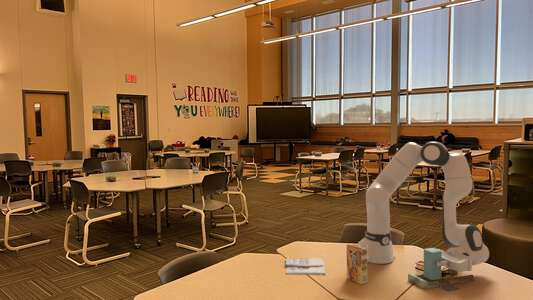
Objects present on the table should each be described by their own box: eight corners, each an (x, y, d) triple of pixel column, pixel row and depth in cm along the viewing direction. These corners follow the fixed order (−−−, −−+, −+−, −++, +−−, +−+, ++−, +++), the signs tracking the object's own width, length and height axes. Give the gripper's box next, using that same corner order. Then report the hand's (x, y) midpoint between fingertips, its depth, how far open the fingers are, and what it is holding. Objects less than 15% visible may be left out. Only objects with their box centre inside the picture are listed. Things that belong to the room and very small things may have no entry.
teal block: (423, 276, 178) (423, 249, 177) (432, 274, 180) (433, 247, 179) (431, 280, 173) (432, 252, 172) (441, 278, 175) (441, 250, 174)
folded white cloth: (323, 261, 206) (323, 257, 206) (325, 276, 186) (325, 272, 186) (285, 261, 208) (285, 256, 208) (283, 275, 188) (283, 271, 188)
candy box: (368, 282, 176) (367, 247, 175) (361, 285, 174) (360, 249, 173) (353, 276, 184) (352, 243, 183) (346, 278, 181) (346, 244, 180)
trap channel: (400, 276, 183) (400, 269, 183) (447, 268, 192) (447, 262, 192) (433, 293, 164) (433, 286, 164) (483, 284, 173) (483, 277, 172)
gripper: (438, 244, 190) (414, 247, 185) (474, 257, 171) (448, 261, 166) (438, 257, 190) (414, 261, 186) (474, 272, 171) (448, 276, 166)
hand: (430, 261), depth 176 cm, fingers closed on teal block, 5 cm apart
